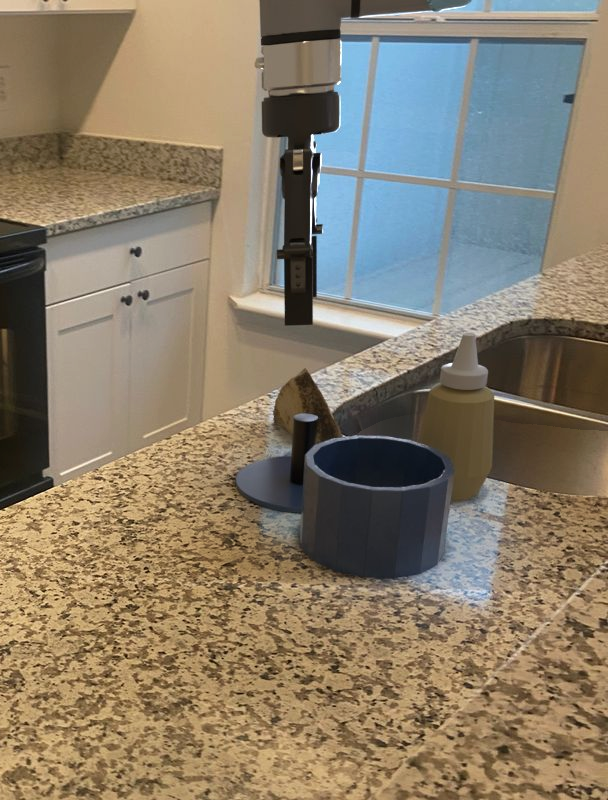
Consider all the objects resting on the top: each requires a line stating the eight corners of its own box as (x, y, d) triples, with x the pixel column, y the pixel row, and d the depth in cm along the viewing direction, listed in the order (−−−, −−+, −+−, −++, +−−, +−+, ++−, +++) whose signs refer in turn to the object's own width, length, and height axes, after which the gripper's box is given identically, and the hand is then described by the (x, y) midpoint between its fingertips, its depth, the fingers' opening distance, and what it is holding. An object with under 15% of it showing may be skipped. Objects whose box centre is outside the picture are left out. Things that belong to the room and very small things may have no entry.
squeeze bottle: (409, 505, 110) (427, 343, 103) (411, 476, 117) (428, 322, 110) (488, 513, 108) (513, 347, 101) (486, 483, 115) (509, 326, 107)
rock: (251, 406, 134) (256, 422, 124) (293, 353, 131) (302, 366, 122) (316, 455, 135) (326, 475, 125) (359, 403, 132) (373, 420, 123)
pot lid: (360, 466, 120) (367, 396, 117) (375, 520, 107) (382, 443, 104) (235, 463, 122) (237, 394, 119) (235, 516, 109) (237, 440, 106)
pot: (429, 521, 107) (439, 436, 103) (453, 586, 95) (466, 492, 91) (296, 518, 109) (301, 434, 104) (303, 580, 96) (309, 488, 92)
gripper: (270, 92, 111) (273, 288, 119) (250, 98, 89) (255, 339, 97) (341, 86, 109) (339, 285, 118) (339, 90, 87) (337, 336, 95)
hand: (301, 310), depth 107 cm, fingers open, 13 cm apart
